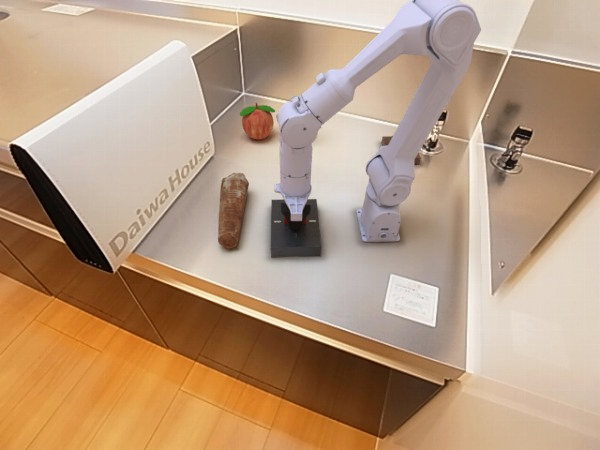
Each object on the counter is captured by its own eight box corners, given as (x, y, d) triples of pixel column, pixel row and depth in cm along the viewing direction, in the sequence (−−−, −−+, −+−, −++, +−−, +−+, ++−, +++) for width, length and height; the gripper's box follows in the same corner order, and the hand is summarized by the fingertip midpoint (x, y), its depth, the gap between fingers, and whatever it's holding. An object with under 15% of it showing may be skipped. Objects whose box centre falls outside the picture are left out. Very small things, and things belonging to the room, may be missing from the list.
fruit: (242, 128, 107) (238, 95, 99) (275, 127, 108) (274, 94, 100) (242, 145, 101) (238, 112, 94) (277, 143, 102) (276, 110, 94)
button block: (418, 164, 96) (422, 151, 93) (388, 165, 96) (391, 152, 93) (409, 143, 103) (412, 130, 100) (381, 143, 103) (383, 130, 100)
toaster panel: (320, 256, 74) (321, 246, 72) (271, 257, 74) (270, 247, 72) (315, 208, 84) (316, 198, 82) (272, 209, 84) (271, 198, 81)
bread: (250, 190, 88) (248, 171, 84) (240, 251, 75) (238, 233, 71) (223, 189, 88) (220, 170, 84) (209, 251, 75) (205, 232, 71)
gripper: (274, 145, 72) (276, 197, 81) (272, 194, 62) (275, 247, 71) (310, 145, 72) (308, 197, 82) (315, 194, 62) (311, 247, 72)
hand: (295, 220), depth 77 cm, fingers open, 4 cm apart
